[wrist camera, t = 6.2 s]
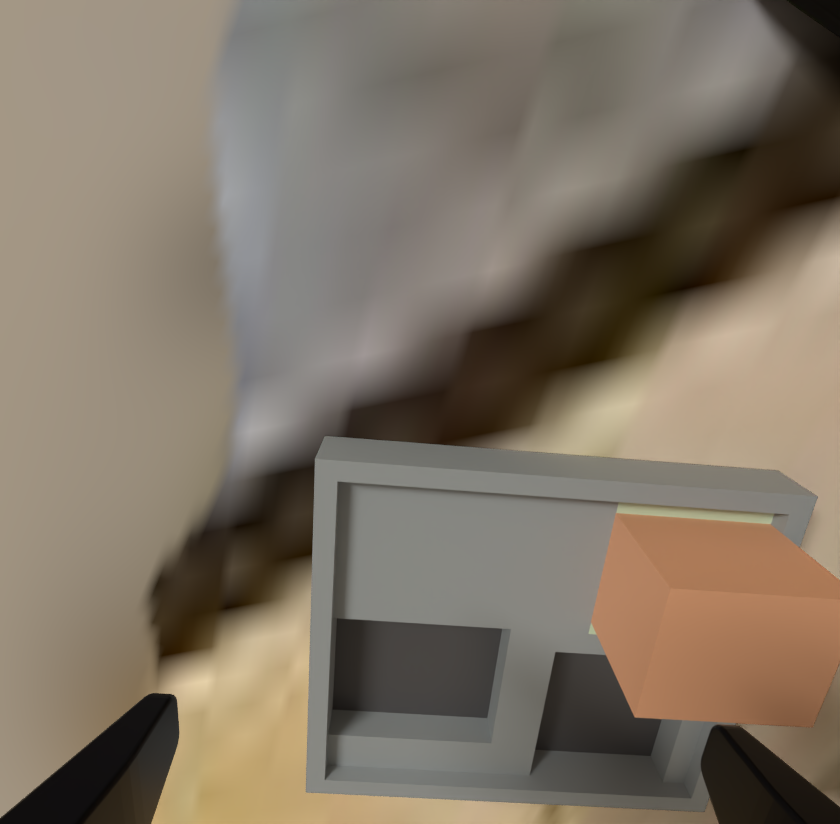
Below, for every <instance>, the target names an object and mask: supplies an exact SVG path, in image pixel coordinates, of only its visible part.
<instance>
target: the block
mask: <svg viewBox="0 0 840 824" xmlns="http://www.w3.org/2000/svg"><path fill="white" fill-rule="evenodd" d="M591 623H592V626H593V628H594V630H595V632H596V634H597V637H598V639H599V641H600V643H601V645H602V647H603V650H604V652H605V654H606V656H607V658H608V660H609V663H610V665H611V667H612V669H613V671H614V674H615V676H616V678H617V680H618V682H619V684H620V687H621V689H622V691H623V693H624V695H625V697H626V700H627V702H628V704H629V706H630V708H631V711H632V713H633V715H634V717H635V718H653V719H671V720H689V721H706V722H724V723H742V724H760V725H778V726H795V727H813V725H814V723H815V721H816V718H817V716H818V713H819V711H820V709H821V706H822V704H823V702H824V699H825V697H826V694H827V692H828V690H829V687H830V685H831V683H832V680H833V678H834V675H835V673H836V671H837V668H838V666H839V663H840V580H839V579H837V578H836V577H835V576H834V575H833V574H831V573H830V572H829V571H828V570H826V569H825V568H824V567H823V566H821V565H820V564H819V563H818V562H817V561H815V560H814V559H813V558H812V557H810V556H809V555H808V554H807V553H805V552H804V551H803V550H802V549H801V548H799V547H798V546H797V545H796V544H794V543H793V542H792V541H791V540H789V539H788V538H787V537H786V536H784V535H783V534H782V533H781V532H780V531H778V530H777V529H776V528H775V527H773V526H772V525H771V524H762V523H748V522H734V521H720V520H706V519H693V518H679V517H665V516H651V515H637V514H623V513H616V515H615V519H614V523H613V528H612V532H611V536H610V541H609V545H608V550H607V554H606V558H605V563H604V567H603V571H602V576H601V580H600V584H599V589H598V593H597V598H596V602H595V606H594V611H593V615H592V619H591Z"/></svg>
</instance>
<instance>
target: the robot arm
mask: <svg viewBox="0 0 840 824" xmlns="http://www.w3.org/2000/svg"><path fill="white" fill-rule="evenodd" d="M178 739H179V721H178V708H177V699H176V697H175V696H174V695H172V694H159V693H152V694H149V695H147V696H145V697H144V698H143V699H142V700H140V701H139V702H138V703H137V704H136V705H135V706H133V707H132V708H131V709H130V710H129V711H127V712H126V713H125V714H124V715H123V716H121V717H120V718H119V719H118V720H117V721H116V722H114V723H113V724H112V725H111V726H109V728H107V729H106V730H105V731H104V732H102V733H101V734H100V735H99V736H98V737H96V738H95V739H94V740H93V741H92V742H90V743H89V744H88V745H87V746H86V747H84V748H83V749H82V750H81V751H80V752H78V753H77V754H76V755H75V756H74V757H72V758H71V759H70V760H69V761H68V762H66V763H65V764H64V765H63V766H62V767H61V768H59V769H58V770H57V771H56V772H55V773H53V774H52V775H51V776H50V777H49V778H47V779H46V780H45V781H44V782H43V783H41V784H40V785H39V786H38V787H37V788H36V789H34V790H33V791H32V792H31V793H29V794H28V795H27V796H26V797H25V798H24V799H22V800H21V801H20V802H19V803H18V804H16V805H15V806H14V807H13V808H12V809H10V810H9V811H8V812H7V813H6V814H5V815H3V816H2V817H1V818H0V824H151V822H152V819H153V816H154V814H155V811H156V808H157V805H158V802H159V799H160V796H161V793H162V790H163V787H164V784H165V781H166V778H167V775H168V772H169V769H170V766H171V763H172V760H173V757H174V754H175V751H176V748H177V744H178ZM701 772H702V776H703V779H704V782H705V785H706V788H707V791H708V793H709V796H710V799H711V802H712V805H713V808H714V811H715V814H716V817H717V820H718V822H719V824H840V807H839V806H838V805H837V804H835V803H834V802H833V801H832V800H830V799H829V798H828V797H827V796H826V795H824V794H823V793H822V792H821V791H819V790H818V789H817V788H816V787H814V786H813V785H812V784H811V783H810V782H808V781H807V780H806V779H805V778H803V777H802V776H801V775H800V774H798V773H797V772H796V771H795V770H794V769H792V768H791V767H790V766H789V765H787V764H786V763H785V762H784V761H783V760H781V759H780V758H779V757H778V756H776V755H775V754H774V753H773V752H771V751H770V750H769V749H768V748H767V747H765V746H764V745H763V744H762V743H760V742H759V741H758V740H757V739H755V738H754V737H753V736H752V735H751V734H749V733H748V732H747V731H746V730H744V729H743V728H741V727H739V726H736V725H724V724H716V725H714V726H713V727H712V728H711V730H710V733H709V736H708V739H707V742H706V745H705V748H704V751H703V754H702V757H701Z"/></svg>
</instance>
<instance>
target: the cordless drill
mask: <svg viewBox="0 0 840 824" xmlns="http://www.w3.org/2000/svg"><path fill="white" fill-rule="evenodd" d="M787 1H788V2H790V3H791V4H793V5H794V6H796V7H797V8H798V9H800V10H801V11H803V12H804V13H806V14H807V15H809V16H810V17H811V18H813V19H814V20H816V21H817V22H819V23H820V24H821V25H823V26H824V27H826V28H827V29H829V30H830V31H832V32H833V33H834V34H836V35H837V36H839V37H840V0H787Z"/></svg>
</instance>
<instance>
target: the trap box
mask: <svg viewBox="0 0 840 824" xmlns="http://www.w3.org/2000/svg"><path fill="white" fill-rule="evenodd" d="M817 498H818V496H816V495H815V494H813V493H812V492H810V491H809V490H807V489H806V488H804V487H802V486H801V485H799V484H798V483H796V482H795V481H793V480H792V479H790V478H789V477H787V476H785V475H784V474H782V473H781V472H779V471H775V470H762V469H749V468H736V467H723V466H710V465H697V464H684V463H671V462H658V461H645V460H632V459H619V458H605V457H592V456H579V455H566V454H553V453H540V452H527V451H514V450H501V449H488V448H475V447H462V446H449V445H436V444H423V443H410V442H397V441H383V440H370V439H357V438H344V437H331V436H325V437H324V440H323V442H322V444H321V446H320V449H319V451H318V453H317V456H316V458H315V482H314V518H313V553H312V589H311V625H310V660H309V696H308V732H307V767H306V792H308V793H328V794H348V795H368V796H389V797H409V798H429V799H450V800H470V801H490V802H510V803H531V804H551V805H571V806H591V807H612V808H632V809H652V810H673V811H693V812H704V811H705V809H706V806H707V803H708V800H709V798H710V796H709V793H708V791H707V788H706V785H705V782H704V779H703V776H702V772H701V757H702V754H703V751H704V748H705V745H706V742H707V739H708V736H709V733H710V730H711V728H712V727H713V726H714V725H716V724H724V725H736V723H724V722H706V721H689V720H671V719H653V718H635V717H634V715H633V713H632V711H631V708H630V706H629V704H628V702H627V700H626V697H625V695H624V693H623V691H622V689H621V687H620V684H619V682H618V680H617V678H616V676H615V674H614V671H613V669H612V667H611V665H610V663H609V660H608V658H607V656H606V654H605V652H604V650H603V647H602V645H601V643H600V641H599V639H598V637H597V634H596V632H595V630H594V628H593V626H592V623H591V619H592V615H593V611H594V606H595V602H596V598H597V593H598V589H599V584H600V580H601V576H602V571H603V567H604V563H605V558H606V554H607V550H608V545H609V541H610V536H611V532H612V528H613V523H614V519H615V515H616V513H623V514H637V515H651V516H665V517H679V518H693V519H706V520H720V521H734V522H748V523H762V524H771V525H772V526H773V527H775V528H776V529H777V530H778V531H780V532H781V533H782V534H783V535H784V536H786V537H787V538H788V539H789V540H791V541H792V542H793V543H794V544H796V545H797V546H798V547H799V548H800V545H801V542H802V539H803V536H804V534H805V531H806V528H807V525H808V523H809V520H810V517H811V514H812V511H813V509H814V506H815V503H816V500H817Z"/></svg>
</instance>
